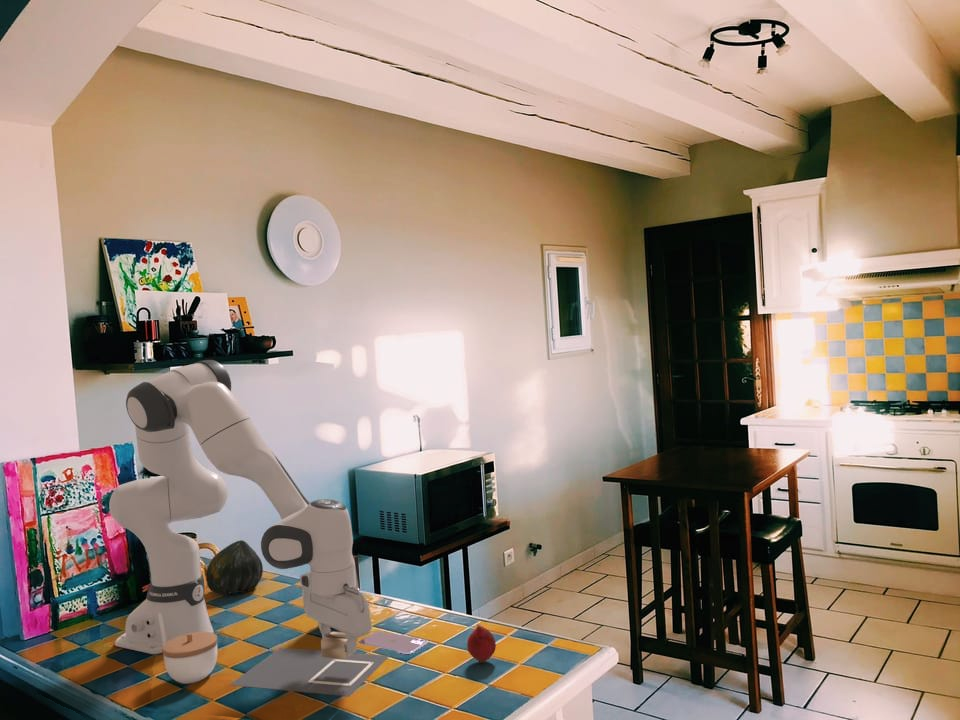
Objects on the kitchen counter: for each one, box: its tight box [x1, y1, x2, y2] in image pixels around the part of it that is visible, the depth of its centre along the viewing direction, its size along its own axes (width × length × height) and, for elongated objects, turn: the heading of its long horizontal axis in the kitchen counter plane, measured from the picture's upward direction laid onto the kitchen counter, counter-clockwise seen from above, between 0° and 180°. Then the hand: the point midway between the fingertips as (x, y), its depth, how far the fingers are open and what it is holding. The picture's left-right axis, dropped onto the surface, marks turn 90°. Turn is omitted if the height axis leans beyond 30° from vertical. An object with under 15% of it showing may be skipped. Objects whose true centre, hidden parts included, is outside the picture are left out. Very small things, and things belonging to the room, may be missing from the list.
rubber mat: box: [229, 647, 390, 697], centre depth 155 cm, size 27×18×1 cm, turn 72°
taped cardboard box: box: [320, 631, 358, 659], centre depth 153 cm, size 6×4×4 cm
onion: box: [466, 623, 497, 664], centre depth 154 cm, size 6×6×8 cm
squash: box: [205, 539, 264, 596], centre depth 211 cm, size 14×15×15 cm
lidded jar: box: [162, 632, 219, 685], centre depth 156 cm, size 11×11×9 cm
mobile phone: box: [357, 631, 429, 655], centre depth 167 cm, size 8×1×15 cm
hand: (339, 647), depth 153 cm, fingers closed on taped cardboard box, 7 cm apart
